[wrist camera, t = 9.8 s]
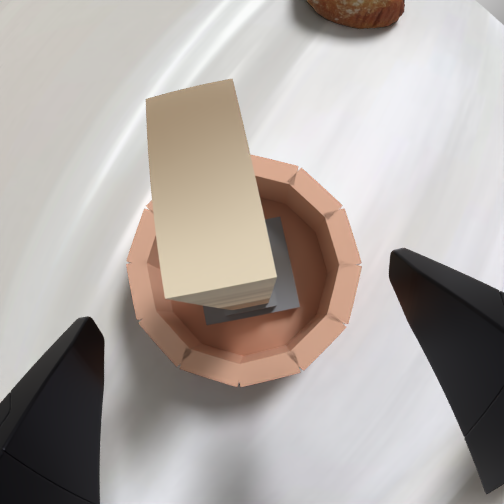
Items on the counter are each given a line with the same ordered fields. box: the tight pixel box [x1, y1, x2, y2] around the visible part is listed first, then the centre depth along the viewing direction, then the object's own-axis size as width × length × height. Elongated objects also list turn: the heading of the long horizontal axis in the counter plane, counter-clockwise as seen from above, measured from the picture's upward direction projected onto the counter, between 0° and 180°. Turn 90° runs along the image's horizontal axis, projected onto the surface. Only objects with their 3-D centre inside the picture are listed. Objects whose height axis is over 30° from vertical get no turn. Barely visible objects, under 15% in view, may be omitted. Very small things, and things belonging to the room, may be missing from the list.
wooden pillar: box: [146, 79, 300, 325], centre depth 12 cm, size 5×5×13 cm
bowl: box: [126, 155, 362, 387], centre depth 17 cm, size 11×11×4 cm
